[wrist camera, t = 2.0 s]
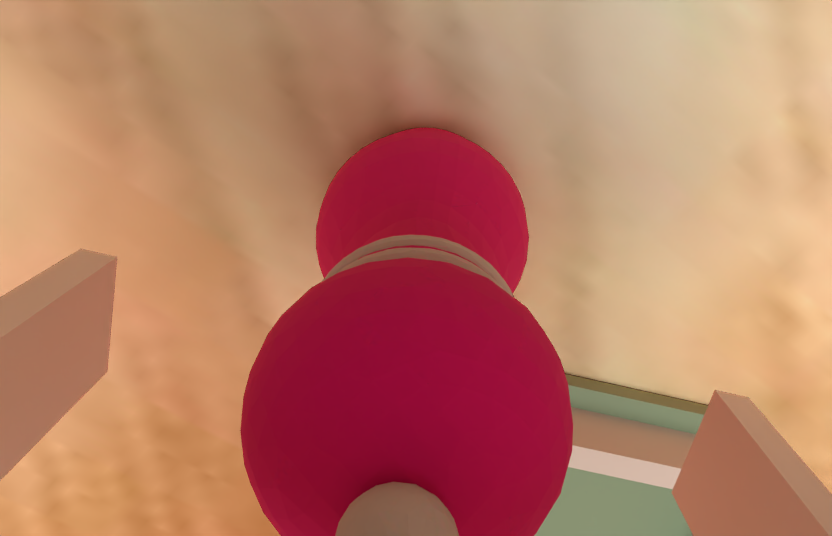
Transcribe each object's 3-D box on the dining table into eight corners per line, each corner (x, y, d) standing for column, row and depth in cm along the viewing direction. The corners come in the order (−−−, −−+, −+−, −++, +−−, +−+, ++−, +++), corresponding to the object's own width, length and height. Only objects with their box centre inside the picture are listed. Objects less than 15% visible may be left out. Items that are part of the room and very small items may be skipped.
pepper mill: (550, 214, 27) (794, 631, 9) (416, 320, 29) (374, 856, 10) (434, 74, 26) (422, 211, 7) (299, 195, 27) (-5, 566, 9)
